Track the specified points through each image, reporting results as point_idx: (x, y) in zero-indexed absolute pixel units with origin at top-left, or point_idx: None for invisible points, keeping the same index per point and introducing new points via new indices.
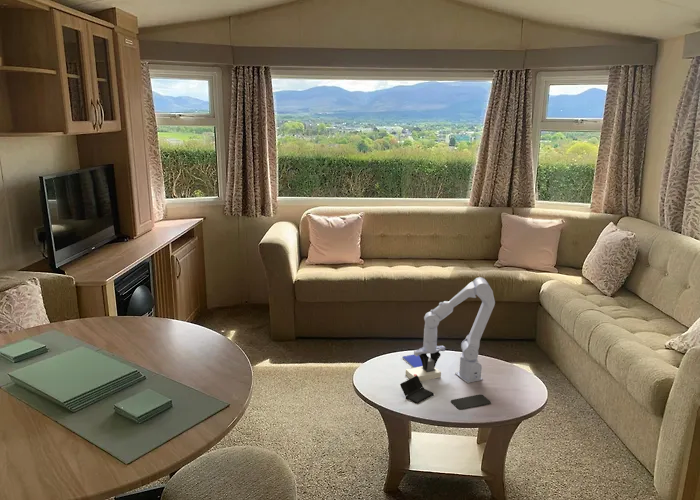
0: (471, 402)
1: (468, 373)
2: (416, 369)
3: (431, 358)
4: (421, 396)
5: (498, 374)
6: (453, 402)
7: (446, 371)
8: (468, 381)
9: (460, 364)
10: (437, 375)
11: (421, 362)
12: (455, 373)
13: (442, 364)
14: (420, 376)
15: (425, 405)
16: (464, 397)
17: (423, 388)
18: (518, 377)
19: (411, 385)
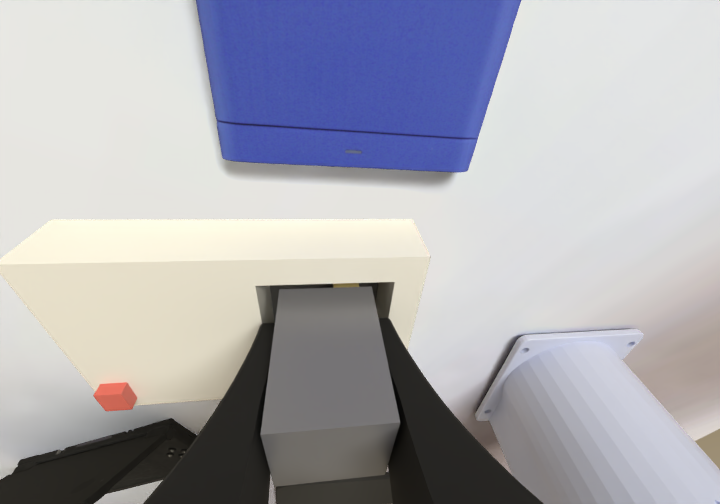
0: (353, 497)
1: (516, 466)
2: (173, 304)
3: (387, 445)
4: (128, 478)
5: (689, 383)
6: (282, 494)
7: (504, 289)
8: (486, 418)
9: (565, 466)
10: None
11: (411, 34)
12: (517, 346)
13: (614, 163)
14: (174, 400)
15: (139, 493)
16: (352, 481)
17: (170, 437)
18: (707, 412)
19: (36, 492)
